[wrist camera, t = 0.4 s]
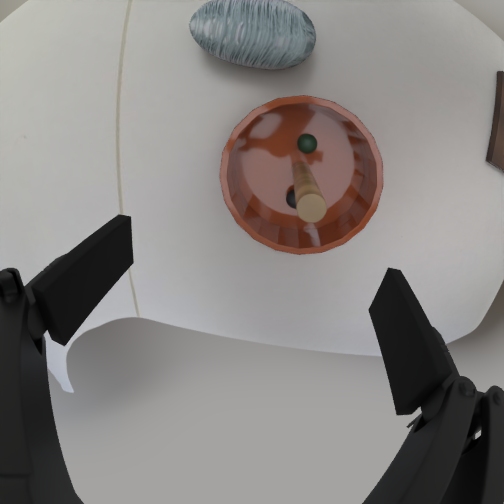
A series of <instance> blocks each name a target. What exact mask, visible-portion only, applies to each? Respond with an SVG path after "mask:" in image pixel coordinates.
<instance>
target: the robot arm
mask: <svg viewBox="0 0 504 504" xmlns="http://www.w3.org/2000/svg"><path fill="white" fill-rule="evenodd" d="M133 263H134V261H133V247H132V229H131V217H130V216H125V215H117V216H116V217H115V218H113V219H112V220H110V221H109V222H108V223H106V224H105V225H104V226H102V227H101V228H99V229H98V230H97V231H95V232H94V233H93V234H92V235H90V236H89V237H88V238H86V239H85V240H84V241H82V242H81V243H80V244H79V245H77V246H76V247H75V248H74V249H72V250H71V251H70V252H69V253H67V254H65V255H62V256H60V257H58V258H56V259H55V260H54V261H53V262H52V263H50V264H49V266H47V267H46V268H45V269H44V271H41V272H40V273H39V274H38V275H37V276H35V277H34V278H33V279H32V280H31V281H30V282H29V283H28V284H27V285H26V286H24V285H23V282H22V279H21V276H20V273H19V271H18V270H17V269H15V268H7V269H4V270H2V271H0V504H84V503H83V502H82V501H81V499H80V498H79V497H78V496H77V494H76V493H75V490H74V488H73V485H72V483H71V480H70V477H69V474H68V471H67V468H66V465H65V461H64V458H63V455H62V451H61V447H60V443H59V439H58V435H57V430H56V426H55V421H54V416H53V410H52V405H51V397H50V390H49V382H48V373H47V360H46V341H45V337H44V335H43V334H44V333H45V332H46V331H47V330H48V332H49V334H50V337H51V339H52V340H53V341H55V342H57V343H59V344H61V345H63V346H65V345H66V344H67V343H68V341H69V340H70V339H71V337H72V336H73V335H74V333H75V332H76V331H77V330H78V328H79V327H80V326H81V324H82V323H83V322H84V321H85V319H86V318H87V317H88V316H89V314H90V313H91V312H92V311H93V309H94V308H95V307H96V306H97V305H98V303H99V302H100V301H101V300H102V298H103V297H104V296H105V295H106V294H107V293H108V291H109V290H110V289H111V288H112V287H113V286H114V284H115V283H116V282H117V281H118V280H119V279H120V277H121V276H122V275H123V274H124V273H125V272H126V271H127V270H128V268H129V267H130V266H131V265H132V264H133ZM369 313H370V316H371V319H372V323H373V326H374V329H375V332H376V336H377V339H378V342H379V346H380V349H381V353H382V356H383V360H384V364H385V368H386V371H387V375H388V379H389V383H390V388H391V392H392V396H393V400H394V405H395V410H396V414H397V415H409V414H412V413H413V412H415V411H416V410H417V408H418V407H421V411H422V413H421V414H420V415H419V416H418V417H416V418H415V419H414V420H413V421H412V422H411V423H409V425H408V426H407V427H408V428H409V427H410V426H411V425H413V424H414V425H413V427H412V429H411V431H410V432H409V434H408V436H407V438H406V439H405V441H404V443H403V445H402V447H401V448H400V450H399V452H398V453H397V455H396V457H395V458H394V460H393V461H392V463H391V464H390V466H389V467H388V469H387V471H386V472H385V473H384V475H383V476H382V478H381V479H380V481H379V482H378V483H377V485H376V486H375V488H374V489H373V490H372V492H371V493H370V494H369V496H368V497H367V498H366V500H365V501H364V502H363V503H362V504H503V502H504V391H503V390H502V389H501V388H500V387H498V386H492V387H490V388H489V389H488V391H487V392H486V393H483V392H479V391H477V390H476V387H475V385H474V384H473V382H472V381H471V380H470V379H468V378H467V377H464V376H460V375H459V373H458V371H457V368H456V366H455V364H454V362H453V359H452V357H451V355H450V353H449V352H448V351H449V350H448V349H447V346H446V345H445V342H444V340H443V338H442V336H441V334H440V333H439V332H438V331H437V330H436V329H435V328H434V327H432V326H431V324H430V322H429V320H428V318H427V316H426V314H425V313H424V311H423V309H422V307H421V305H420V303H419V301H418V300H417V298H416V296H415V294H414V292H413V291H412V289H411V287H410V285H409V284H408V282H407V280H406V279H405V277H404V275H403V274H402V272H401V270H397V269H393V268H388V269H387V272H386V274H385V276H384V278H383V281H382V283H381V285H380V287H379V289H378V291H377V293H376V296H375V298H374V300H373V302H372V304H371V306H370V308H369ZM480 430H481V436H480V437H478V438H477V439H475V434H476V433H477V432H479V431H480Z"/></svg>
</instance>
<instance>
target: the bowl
mask: <svg viewBox="0 0 504 504" xmlns="http://www.w3.org/2000/svg"><path fill="white" fill-rule="evenodd" d="M303 134H311V135H313V136H314V137H315V138H316V140H317V148H316V150H315V151H314V152H312V153H309V154H306V153H303V152H301V151H300V150H299V149H298V146H297V140H298V138H299V137H300V136H301V135H303ZM299 161H303V162H305V163H307V164H308V165H309V167H310V169H311V171H312V173H313V176H314V178H315V180H316V182H317V184H318V186H319V189H320V191H321V193H322V195H323V197H324V200H325V202H326V205H327V211H326V214H325V216H324V217H323V218H322V219H321V220H319V221H317V222H314V223H309V222H306V221H303V220H302V219H301V218H300V217H299V216H298V214H297V210H296V209H294V208H291V207H290V206H289V205H288V204H287V202H286V196H287V194H288V192H289V191H291V190H293V189H294V182H293V173H292V167H293V165H294V164H295V163H296V162H299ZM220 182H221V187H222V192H223V197H224V201H225V203H226V205H227V207H228V208H229V210H230V212H231V214H232V215H233V217H234V219H235V221H236V222H237V224H238V225H240V226H241V227H242V228H243V229H244V230H245V231H246V232H247V233H248V234H249V235H250V236H251V237H252V238H253V239H255V240H257V241H259V242H260V243H262V244H264V245H266V246H268V247H270V248H272V249H274V250H277V251H282V252H287V253H293V254H298V255H301V254H312V253H322V252H325V251H327V250H330V249H332V248H335V247H338V246H340V245H343V244H344V243H346V242H347V241H349V240H350V239H351V238H352V237H354V236H355V235H356V234H357V233H359V232H360V231H361V230H362V229H364V227H365V226H366V224H367V223H368V221H369V220H370V218H371V217H372V216H373V214H374V213H375V211H376V209H377V206H378V203H379V199H380V196H381V192H382V189H383V163H382V158H381V155H380V153H379V150H378V147H377V145H376V142H375V140H374V137H373V136H372V135H371V133H370V132H369V131H368V130H367V128H366V127H365V126H364V125H363V123H362V122H361V121H360V120H359V119H358V117H356V116H355V115H354V114H352V113H351V112H349V111H348V110H346V109H344V108H343V107H341V106H340V105H338V104H336V103H335V102H332V101H329V100H325V99H320V98H316V97H312V96H306V95H303V96H292V97H283V98H277V99H275V100H273V101H271V102H268V103H266V104H264V105H262V106H260V107H258V108H256V109H254V110H252V111H251V112H250V113H249V114H248V115H247V116H246V117H245V118H244V119H243V120H242V121H241V122H240V123H239V124H238V125H237V126H236V127H235V128H234V130H233V132H232V134H231V136H230V138H229V140H228V142H227V144H226V146H225V148H224V150H223V152H222V160H221V168H220Z"/></svg>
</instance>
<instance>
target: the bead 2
mask: <svg viewBox="0 0 504 504" xmlns="http://www.w3.org/2000/svg"><path fill="white" fill-rule="evenodd" d="M297 146H298V149H299V150H300V151H301V152H303V153H306V154H309V153H312V152H314V151H315V150H316V148H317V140H316V138H315V137H314V136H313V135H311V134H303V135H301V136H300V137H299V138H298V140H297Z"/></svg>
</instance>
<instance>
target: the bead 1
mask: <svg viewBox="0 0 504 504" xmlns="http://www.w3.org/2000/svg"><path fill="white" fill-rule="evenodd" d="M286 202H287V204H288V205H289V206H290V207H291V208H294V209H296V201H295V191H294V189H293V190H291V191H289V192H288V194H287V196H286Z"/></svg>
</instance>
